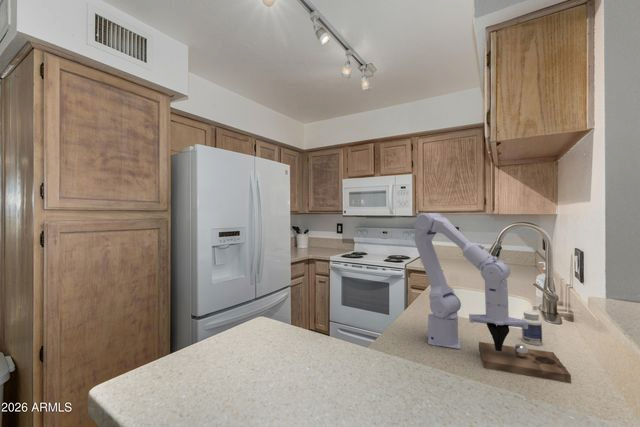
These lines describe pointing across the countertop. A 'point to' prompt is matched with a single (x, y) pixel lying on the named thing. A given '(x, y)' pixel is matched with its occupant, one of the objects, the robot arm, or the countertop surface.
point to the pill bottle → (532, 328)
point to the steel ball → (521, 350)
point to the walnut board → (524, 362)
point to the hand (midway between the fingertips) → (498, 349)
